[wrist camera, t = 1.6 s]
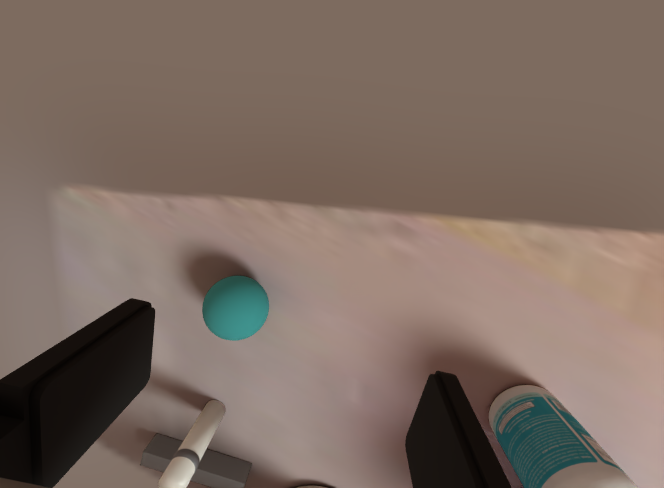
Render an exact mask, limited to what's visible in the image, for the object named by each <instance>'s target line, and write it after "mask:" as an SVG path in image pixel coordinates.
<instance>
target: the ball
mask: <svg viewBox="0 0 664 488" xmlns="http://www.w3.org/2000/svg"><path fill="white" fill-rule="evenodd" d="M268 311H269V301H268V297H267V294H266V292H265V290H264V289H263V287H262V286H261V285H260V284H259V283H258V282H256V281H255V280H253V279H251V278H249V277H245V276H230V277H226V278H224V279H222V280H220V281H218V282H217V283H216V284H214V285H213V286H212V287H211V288H210V290H209V291H208V292H207V294H206V296H205V299H204V302H203V308H202V312H203V318H204V321H205V323H206V325H207V327H208V328H209V330H210V331H211V332H212V333H214V334H215V335H216V336H218V337H220V338H222V339H226V340H242V339H245V338H248V337H250V336H252V335H253V334H255V333H256V332H257V331H258V330H259V329H260V328H261V327H262V326H263V324H264V322H265V321H266V318H267V316H268Z"/></svg>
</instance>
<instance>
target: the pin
mask: <svg viewBox="0 0 664 488" xmlns="http://www.w3.org/2000/svg"><path fill="white" fill-rule="evenodd" d="M225 411H226V409H225V406H224V405H223V403H221V402H220V401H217V400H211V401H209V402H207V404H206V405H205V407H204V408H203V410H202V412H201V413H200V415H199V417H198V418H197V420H196V421H195V423H194V425H193V426H192V428H191V430H190V431H189V433H188V434H187V436H186V438H185V439H184V441H183V443H182V444H181V446H180V447H179V449H178V451H177V452H176V453H175V454H174V456H173V458H172V459H171V461H170V464H169V465H168V467H167V468H166V470H165V472H164V473H163V475H162V477H161V478H160V480H159V482H158V486H159V488H186V487H187V486H188V484H189V482H190V480H191V478H192V476H193V474H194V473H195V471H196V469H197V467H198V465H199V463H200V460H201V458H202V456H203V455H204V453H205V451H206V449H207V447H208V445H209V443H210V441H211V439H212V437H213V435H214V433H215V431H216V429H217V427H218V426H219V424H220V422H221V420H222V418H223V416H224V414H225Z"/></svg>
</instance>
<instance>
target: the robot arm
mask: <svg viewBox="0 0 664 488" xmlns="http://www.w3.org/2000/svg"><path fill="white" fill-rule="evenodd" d="M154 322H155V309H154V308H152V307H151V303H149V302H146V301H142V300H137V299H133V298H131V299H129V300H127V301H125V302H124V303H122V304H120V305H119V306H117V307H116V308H114V309H112V310H111V311H109V312H108V313H106V314H104V315H103V316H101V317H100V318H98V319H96V320H95V321H93V322H92V323H90V324H88V325H87V326H85V327H84V328H82V329H80V330H79V331H77V332H76V333H74V334H72V335H71V336H69V337H68V338H66V339H64V340H63V341H61V342H60V343H58V344H56V345H55V346H53V347H52V348H50V349H48V350H47V351H45V352H44V353H42V354H40V355H39V356H37V357H36V358H34V359H32V360H31V361H29V362H28V363H26V364H25V365H23V366H21V367H20V368H18V369H17V370H15V371H13V372H12V373H10V374H9V375H7V376H5V377H4V378H2V379H1V380H0V488H53V487H54V486H55V485H56V484H57V483H58V482H59V480H60V479H61V478H62V477H63V476H64V475H65V474H66V473H67V472H68V471H69V469H70V468H71V467H72V466H73V465H74V464H75V463H76V462H77V461H78V460H79V459H80V457H81V456H82V455H83V454H84V453H85V452H86V451H87V450H88V449H89V447H90V446H91V445H92V444H93V443H94V442H95V441H96V440H97V439H98V438H99V437H100V435H101V434H102V433H103V432H104V431H105V430H106V429H107V428H108V427H109V426H110V424H111V423H112V422H113V421H114V420H115V419H116V418H117V417H118V416H119V415H120V413H121V412H122V411H123V410H124V409H125V408H126V407H127V406H128V405H129V404H130V402H131V401H132V400H133V399H134V398H135V397H136V396H137V395H138V394H139V393H140V391H141V390H142V389H143V388H144V387H145V386H146V384H147V383H148V380H149V378H150V371H151V359H152V347H153V334H154ZM405 446H406V453H407V458H408V463H409V469H410V474H411V479H412V484H413V488H511V486H510V484H509V481H508V479H507V477H506V475H505V473H504V471H503V469H502V467H501V465H500V463H499V461H498V459H497V457H496V455H495V453H494V451H493V449H492V447H491V445H490V443H489V441H488V439H487V437H486V435H485V433H484V431H483V429H482V427H481V425H480V423H479V421H478V419H477V417H476V415H475V413H474V411H473V409H472V407H471V405H470V403H469V401H468V399H467V397H466V395H465V393H464V391H463V389H462V387H461V385H460V383H459V380H458V378H457V377H456V375H454V374H449V373H445V372H441V371H437V372H436V373H435V374H430V375H429V377H428V380H427V383H426V385H425V388H424V391H423V393H422V396H421V399H420V401H419V404H418V407H417V409H416V412H415V415H414V417H413V420H412V422H411V425H410V428H409V430H408V433H407V436H406V443H405ZM296 488H327V487H322V486H300V487H296Z"/></svg>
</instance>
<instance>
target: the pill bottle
mask: <svg viewBox="0 0 664 488" xmlns="http://www.w3.org/2000/svg"><path fill="white" fill-rule="evenodd" d="M489 423H490V426H491V428H492V430H493V432H494V434H495V436H496V438H497V440H498V441H499V443H500V445H501V447H502V449H503V450H504V452H505V454H506V456H507V458H508V459H509V461H510V463H511V465H512V467H513V468H514V470H515V472H516V474H517V475H518V477H519V479H520V481H521V483H522V484H523V486H524V488H638V487H637V486H636V485H635V484H634V483H633V481H632V480H631V479H630V478H629V477H628V476H627V475H626V474H625V473H624V471H623V470H622V469H621V468H620V467H619V466H618V465H617V464H616V463H615V462H614V461H613V460H612V458H611V457H610V456H609V455H608V454H607V453H606V452H605V451H604V450H603V449H602V447H601V446H600V445H599V444H598V443H597V442H596V441H595V440H594V439H593V438H592V437H591V436H590V434H589V433H588V432H587V431H586V430H585V429H584V428H583V427H582V426H581V424H580V423H579V422H578V421H577V420H576V419H575V418H574V417H573V416H572V415H571V413H570V412H569V411H568V410H567V409H566V408H565V407H564V406H563V405H562V404H561V403H560V402H559V401H558V399H557V398H556V397H555V396H554V395H552V394H551V393H550V392H548V391H547V390H545V389H543V388H541V387H538V386H533V385H520V386H515V387H512V388H509V389H507V390H505V391H504V392H502V393H501V394H500V395H498V396H497V397H496V399H495V400H494V401H493V403H492V405H491V407H490V410H489Z"/></svg>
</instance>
